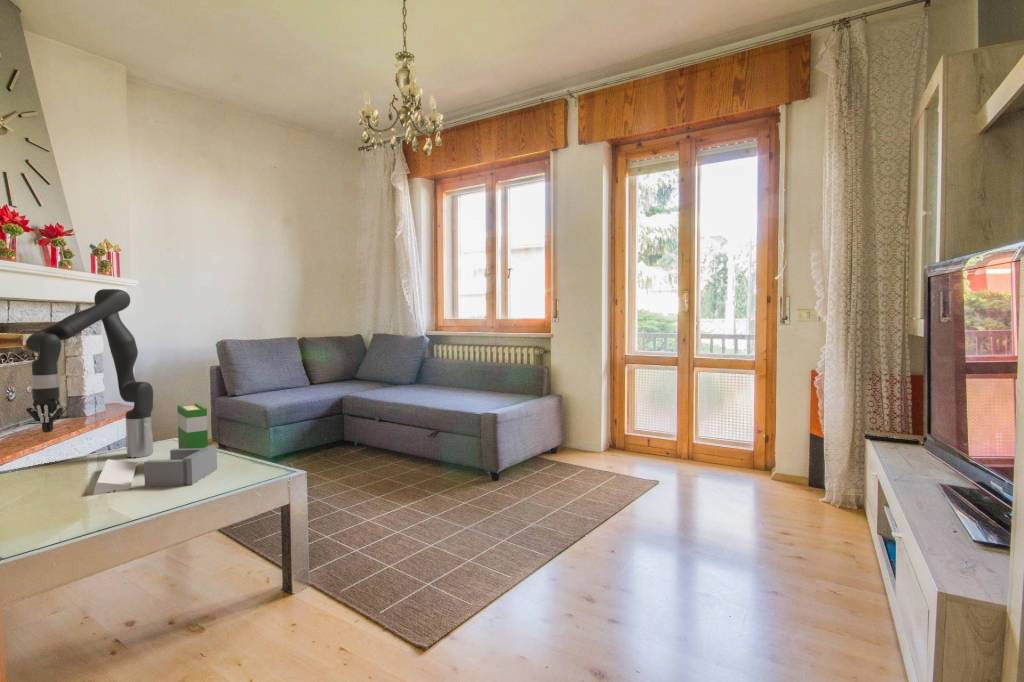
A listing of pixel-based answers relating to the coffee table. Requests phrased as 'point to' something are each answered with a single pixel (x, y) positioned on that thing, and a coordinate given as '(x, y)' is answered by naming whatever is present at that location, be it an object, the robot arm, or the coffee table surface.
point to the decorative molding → (115, 476)
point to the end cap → (181, 467)
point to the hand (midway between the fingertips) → (47, 432)
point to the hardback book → (192, 426)
